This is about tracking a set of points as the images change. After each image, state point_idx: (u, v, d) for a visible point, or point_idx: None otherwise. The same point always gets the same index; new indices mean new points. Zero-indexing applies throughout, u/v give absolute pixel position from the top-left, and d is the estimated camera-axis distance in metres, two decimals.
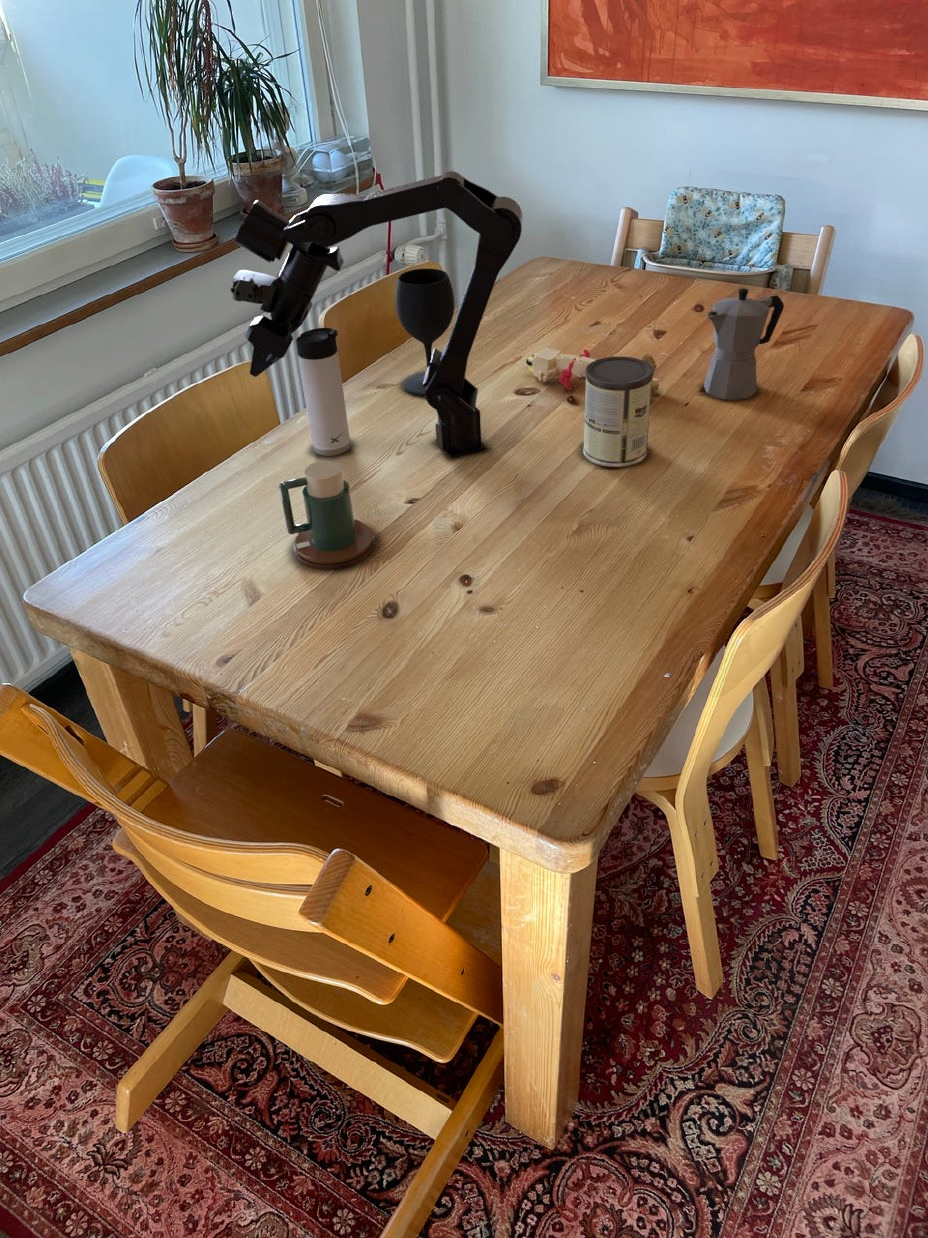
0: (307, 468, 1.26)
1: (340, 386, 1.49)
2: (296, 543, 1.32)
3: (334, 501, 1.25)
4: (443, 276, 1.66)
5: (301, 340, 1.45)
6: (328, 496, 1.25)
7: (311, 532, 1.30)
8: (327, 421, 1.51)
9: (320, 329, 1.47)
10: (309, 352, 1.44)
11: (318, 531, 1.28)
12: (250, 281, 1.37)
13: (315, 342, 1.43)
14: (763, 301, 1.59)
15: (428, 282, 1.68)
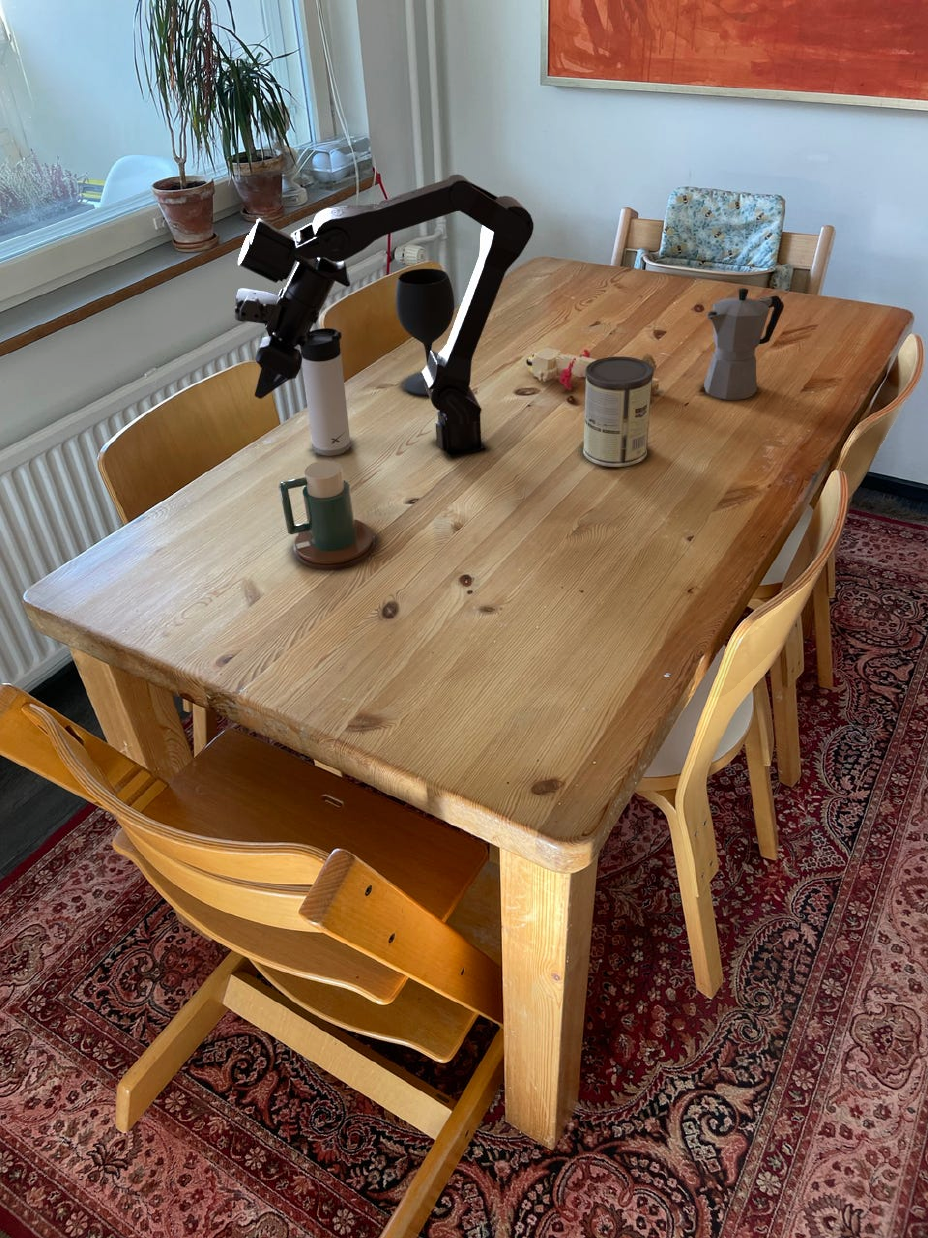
0: (307, 468, 1.26)
1: (342, 387, 1.49)
2: (296, 543, 1.32)
3: (334, 501, 1.25)
4: (443, 276, 1.66)
5: None
6: (328, 496, 1.25)
7: (311, 532, 1.30)
8: (328, 422, 1.51)
9: (324, 329, 1.46)
10: (312, 354, 1.43)
11: (318, 531, 1.28)
12: (256, 301, 1.32)
13: (319, 344, 1.42)
14: (763, 301, 1.59)
15: (428, 282, 1.68)
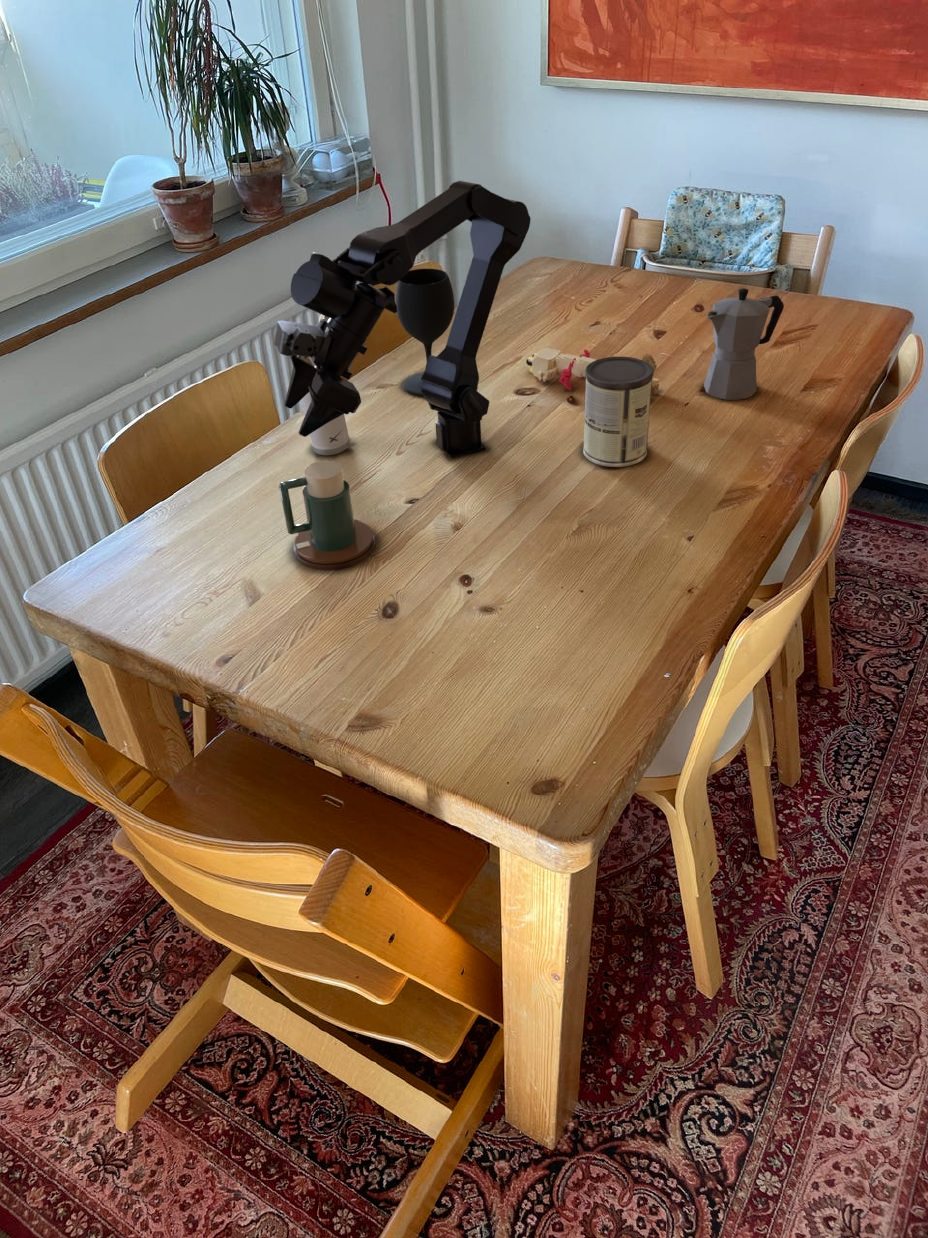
0: (307, 468, 1.26)
1: None
2: (296, 543, 1.32)
3: (334, 501, 1.25)
4: (443, 276, 1.65)
5: None
6: (328, 496, 1.25)
7: (311, 532, 1.30)
8: None
9: None
10: None
11: (318, 531, 1.28)
12: None
13: None
14: (763, 301, 1.59)
15: (428, 282, 1.68)
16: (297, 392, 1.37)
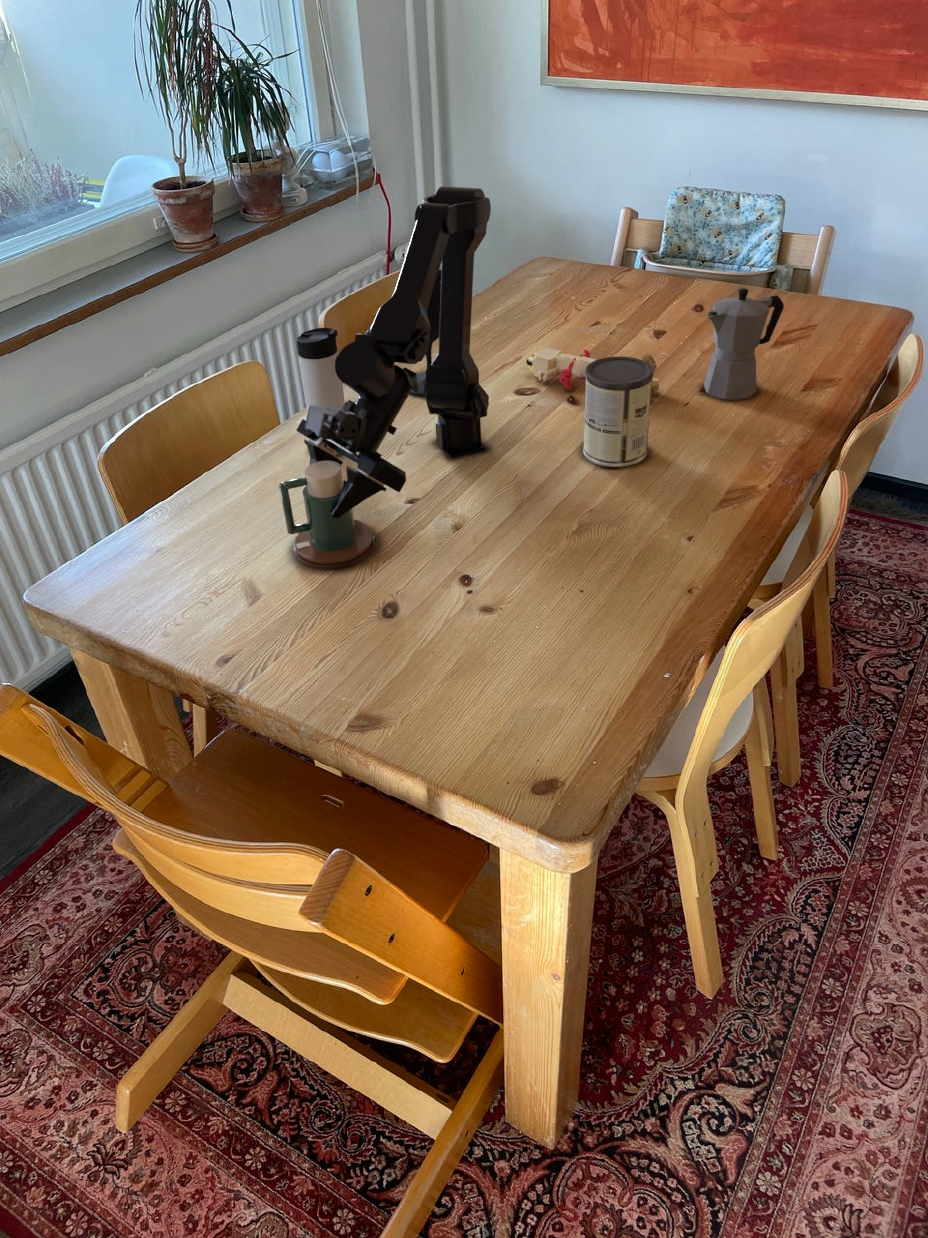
0: (307, 468, 1.26)
1: (340, 386, 1.49)
2: (296, 543, 1.32)
3: (334, 501, 1.25)
4: None
5: (301, 340, 1.45)
6: (328, 496, 1.25)
7: (311, 532, 1.30)
8: None
9: (320, 329, 1.47)
10: (308, 352, 1.44)
11: (318, 531, 1.28)
12: (354, 415, 1.20)
13: (315, 342, 1.43)
14: (763, 301, 1.59)
15: None
16: None
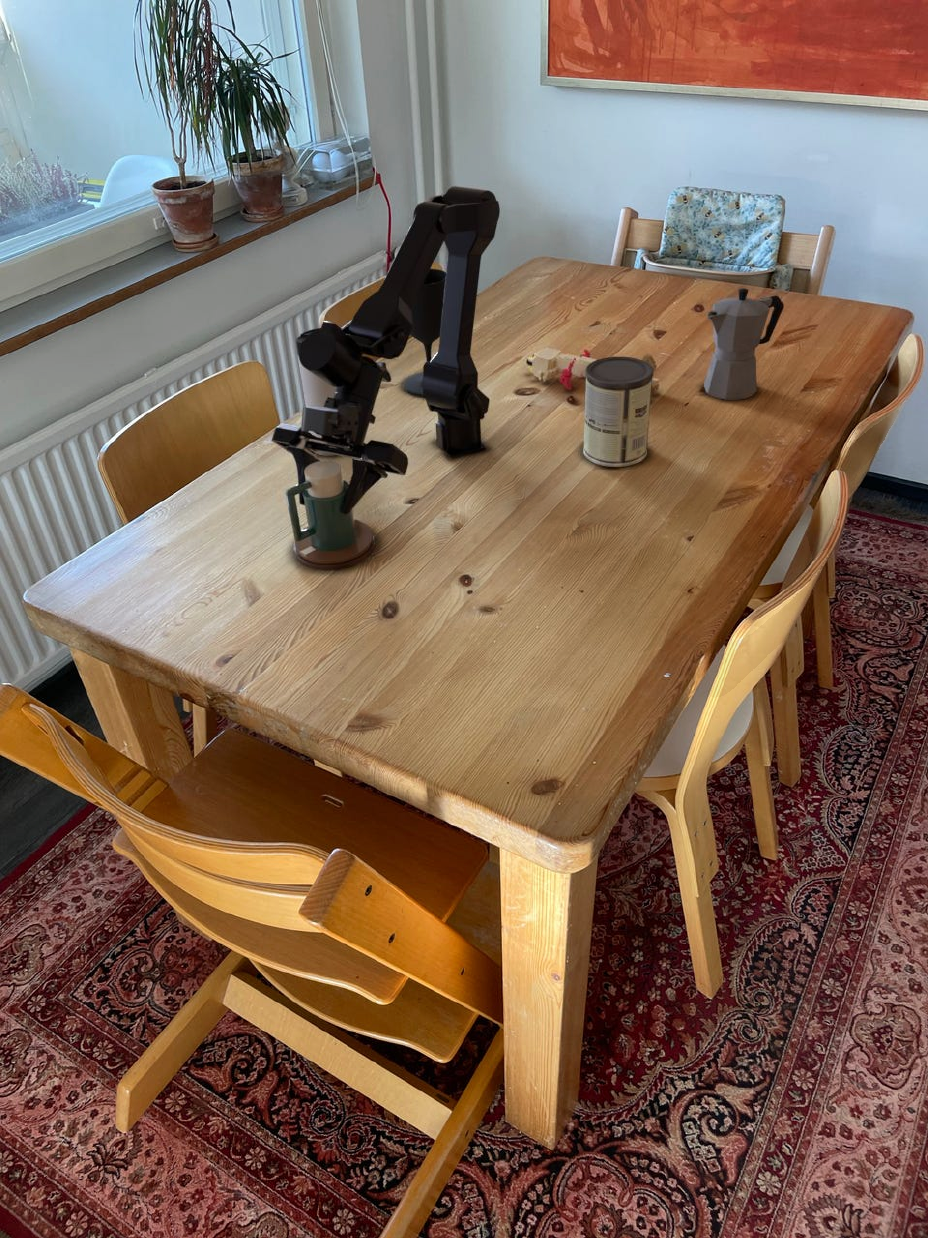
0: (306, 471, 1.25)
1: None
2: (300, 551, 1.30)
3: (342, 498, 1.26)
4: (443, 276, 1.65)
5: (301, 340, 1.45)
6: (335, 494, 1.26)
7: (317, 535, 1.29)
8: None
9: None
10: None
11: (326, 532, 1.28)
12: None
13: None
14: (763, 301, 1.59)
15: (428, 282, 1.68)
16: None
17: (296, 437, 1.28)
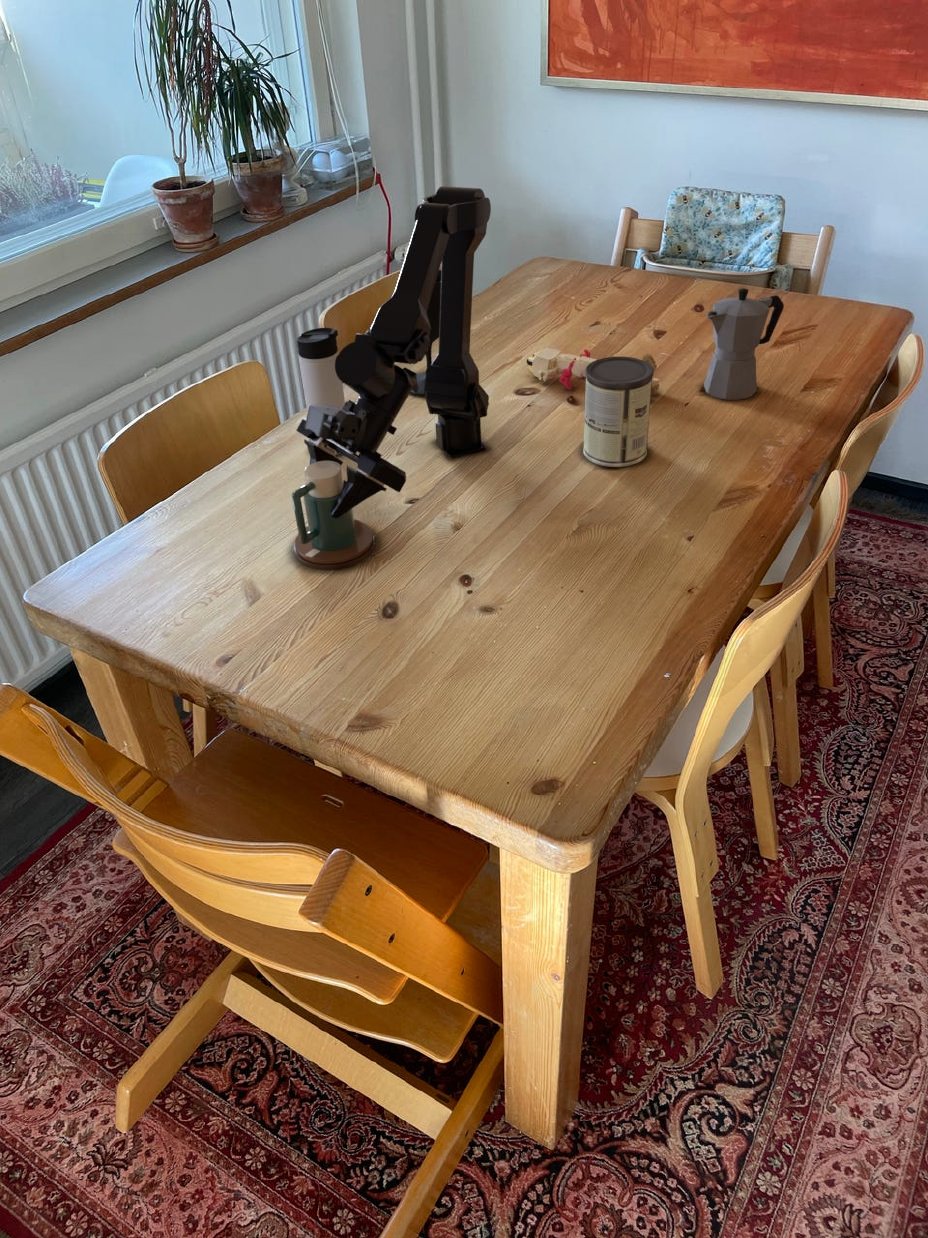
0: (307, 473, 1.25)
1: (340, 386, 1.49)
2: (304, 554, 1.30)
3: None
4: None
5: (301, 340, 1.45)
6: (338, 493, 1.26)
7: (321, 536, 1.29)
8: None
9: (321, 329, 1.47)
10: (309, 352, 1.44)
11: (331, 532, 1.28)
12: (354, 415, 1.20)
13: (315, 342, 1.43)
14: (763, 301, 1.59)
15: None
16: None
17: (314, 432, 1.29)
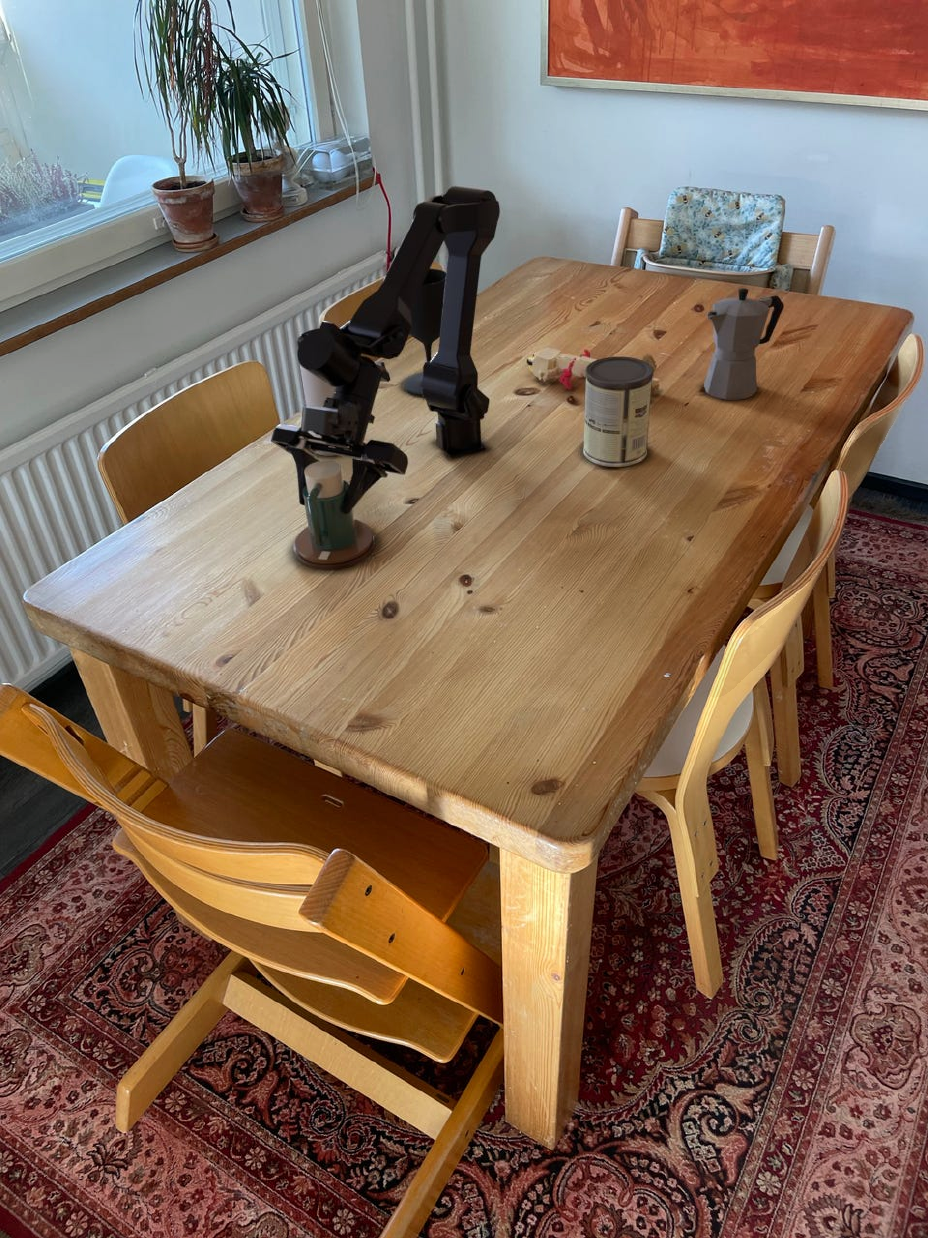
0: (310, 475, 1.24)
1: None
2: (316, 558, 1.29)
3: None
4: (443, 276, 1.65)
5: None
6: (343, 489, 1.27)
7: (331, 536, 1.28)
8: None
9: None
10: None
11: (341, 529, 1.28)
12: None
13: None
14: (763, 301, 1.59)
15: (428, 282, 1.68)
16: None
17: (295, 437, 1.28)
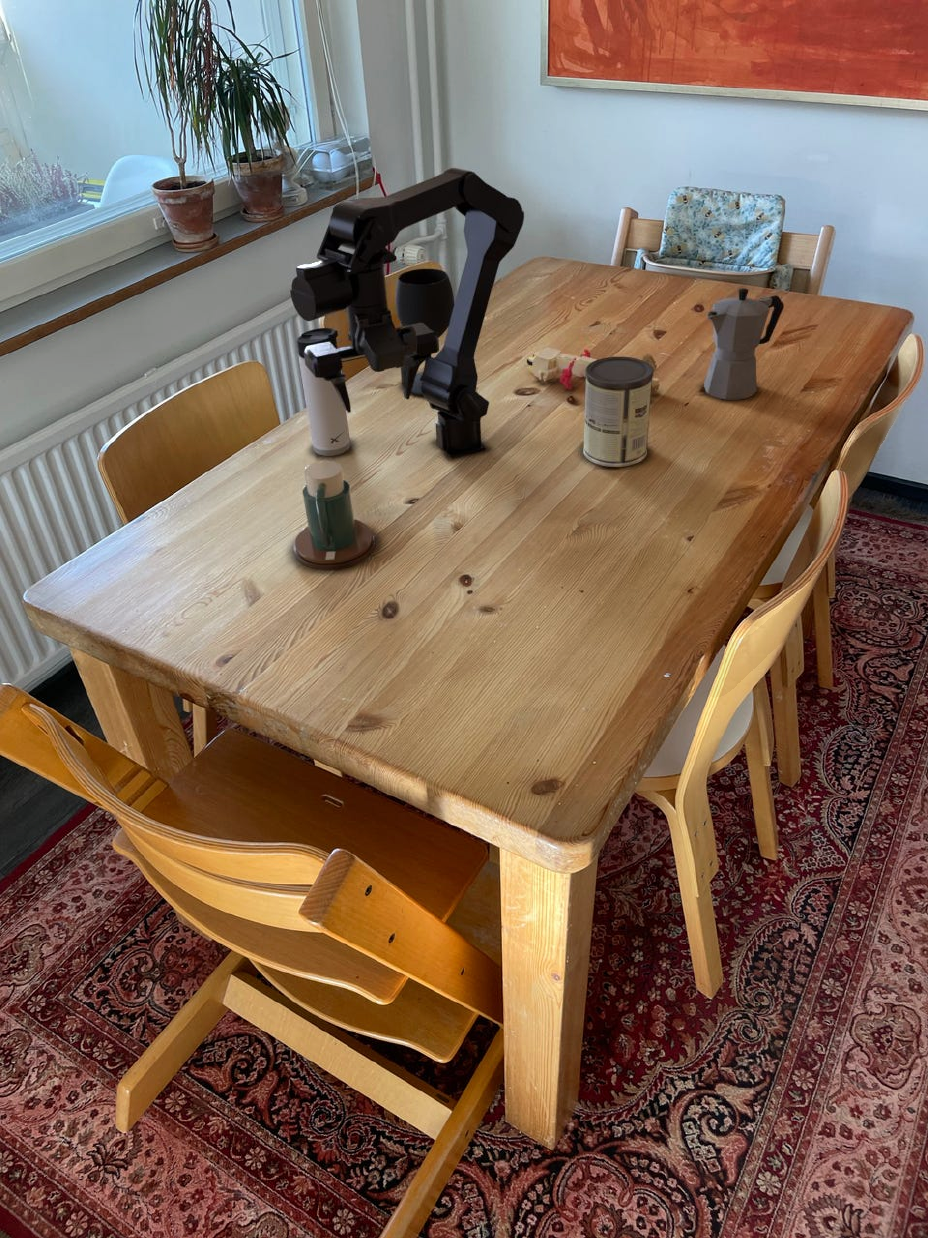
0: (312, 476, 1.24)
1: None
2: (323, 559, 1.28)
3: (349, 488, 1.28)
4: (443, 276, 1.65)
5: (301, 340, 1.45)
6: (343, 487, 1.27)
7: (335, 536, 1.29)
8: (327, 421, 1.51)
9: (321, 329, 1.47)
10: None
11: (345, 528, 1.29)
12: (409, 326, 1.28)
13: (315, 342, 1.43)
14: (763, 301, 1.59)
15: (428, 282, 1.68)
16: None
17: (341, 364, 1.31)
